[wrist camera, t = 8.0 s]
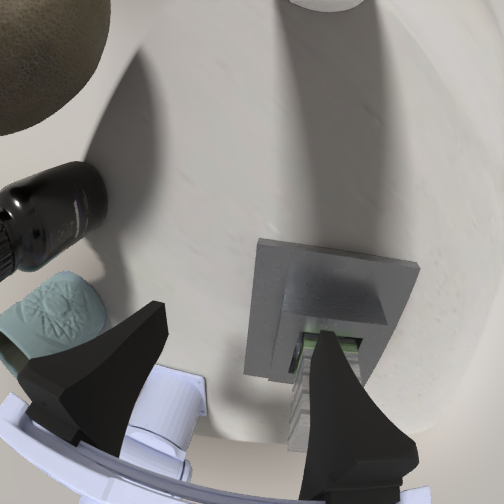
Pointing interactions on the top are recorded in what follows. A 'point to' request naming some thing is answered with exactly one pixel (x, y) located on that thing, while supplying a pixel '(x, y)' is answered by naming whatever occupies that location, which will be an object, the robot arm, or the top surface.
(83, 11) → the cantaloupe
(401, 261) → the stand base
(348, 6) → the cylindrical container
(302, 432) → the column
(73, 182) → the supplement bottle
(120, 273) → the top surface
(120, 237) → the top surface
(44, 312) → the teal embossed planter pot
